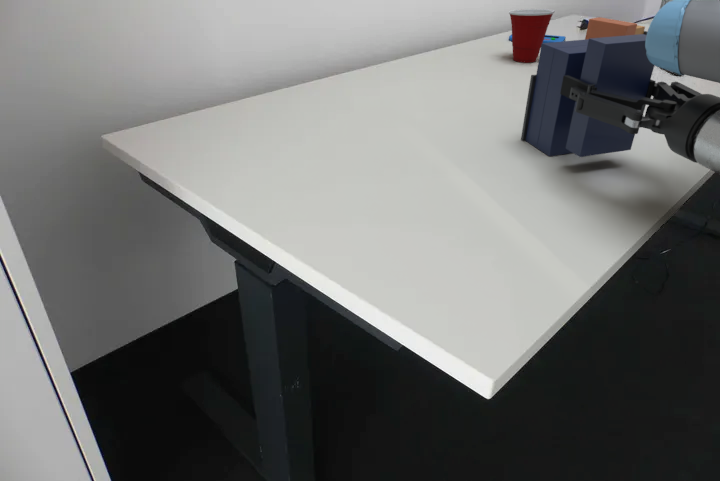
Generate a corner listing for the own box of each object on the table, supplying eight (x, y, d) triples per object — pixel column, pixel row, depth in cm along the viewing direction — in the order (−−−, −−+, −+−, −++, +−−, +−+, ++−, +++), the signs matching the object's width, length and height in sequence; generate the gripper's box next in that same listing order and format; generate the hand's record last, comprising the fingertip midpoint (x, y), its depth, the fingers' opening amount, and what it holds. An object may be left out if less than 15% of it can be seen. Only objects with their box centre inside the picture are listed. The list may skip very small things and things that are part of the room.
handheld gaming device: (513, 31, 160) (566, 35, 155) (513, 35, 161) (565, 39, 155) (507, 36, 154) (562, 41, 149) (507, 40, 155) (561, 45, 149)
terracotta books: (613, 90, 115) (629, 26, 108) (574, 79, 122) (587, 18, 115) (634, 84, 119) (651, 21, 112) (595, 74, 126) (608, 14, 119)
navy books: (599, 149, 88) (624, 48, 80) (546, 156, 86) (566, 53, 77) (570, 132, 95) (590, 37, 86) (520, 139, 92) (536, 42, 84)
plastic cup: (528, 52, 143) (535, 4, 137) (555, 62, 135) (564, 11, 128) (493, 57, 140) (499, 7, 133) (519, 67, 131) (527, 14, 125)
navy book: (630, 149, 81) (662, 39, 73) (579, 157, 79) (605, 44, 70) (615, 141, 84) (643, 34, 75) (565, 148, 82) (588, 38, 73)
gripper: (630, 176, 61) (524, 113, 80) (776, 153, 67) (645, 99, 85) (649, 112, 57) (532, 61, 76) (802, 93, 63) (658, 50, 81)
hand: (592, 81), depth 80 cm, fingers closed on navy book, 9 cm apart
